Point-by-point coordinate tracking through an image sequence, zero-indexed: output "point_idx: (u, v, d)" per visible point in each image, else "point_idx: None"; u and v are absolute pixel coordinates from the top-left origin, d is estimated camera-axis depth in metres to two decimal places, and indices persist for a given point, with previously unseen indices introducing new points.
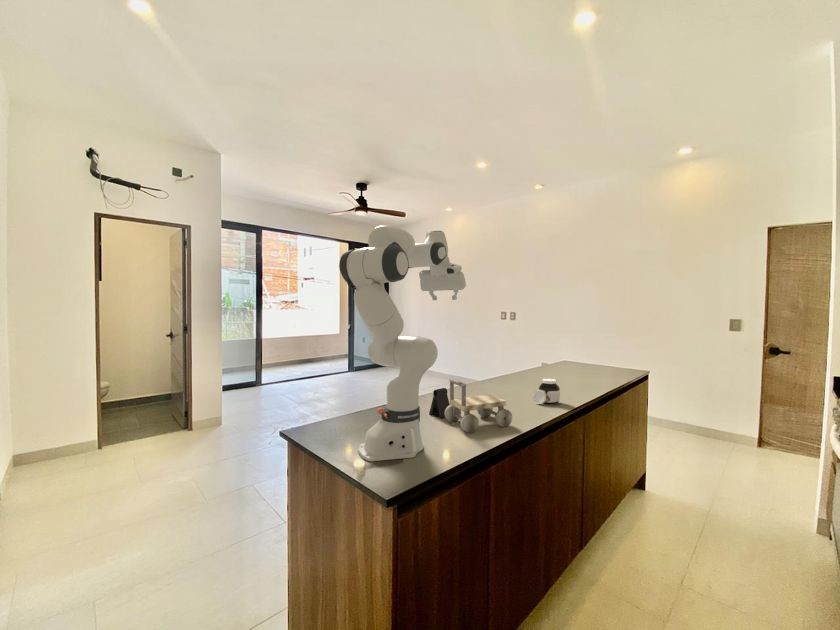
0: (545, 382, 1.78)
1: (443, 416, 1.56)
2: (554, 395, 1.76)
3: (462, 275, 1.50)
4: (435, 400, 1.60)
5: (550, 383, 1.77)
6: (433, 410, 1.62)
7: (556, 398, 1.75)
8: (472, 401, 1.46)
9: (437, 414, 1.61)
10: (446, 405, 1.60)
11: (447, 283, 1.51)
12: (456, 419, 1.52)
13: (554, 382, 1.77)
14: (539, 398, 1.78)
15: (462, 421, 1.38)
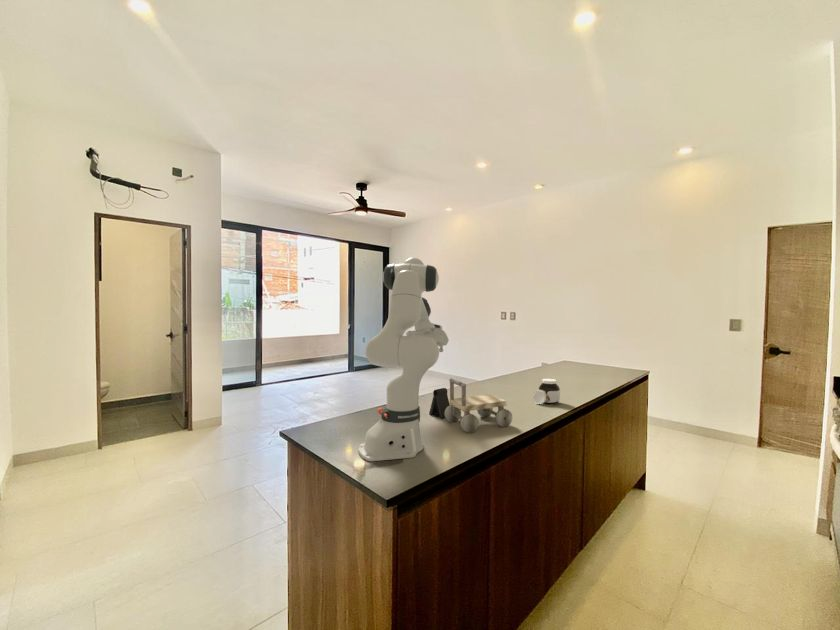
0: (545, 382, 1.78)
1: (443, 416, 1.56)
2: (554, 395, 1.76)
3: None
4: (435, 400, 1.60)
5: (550, 383, 1.77)
6: (433, 410, 1.62)
7: (556, 398, 1.75)
8: (472, 401, 1.46)
9: (437, 414, 1.61)
10: (446, 405, 1.60)
11: (435, 337, 1.77)
12: (456, 419, 1.52)
13: (554, 382, 1.77)
14: (539, 398, 1.78)
15: (462, 421, 1.38)
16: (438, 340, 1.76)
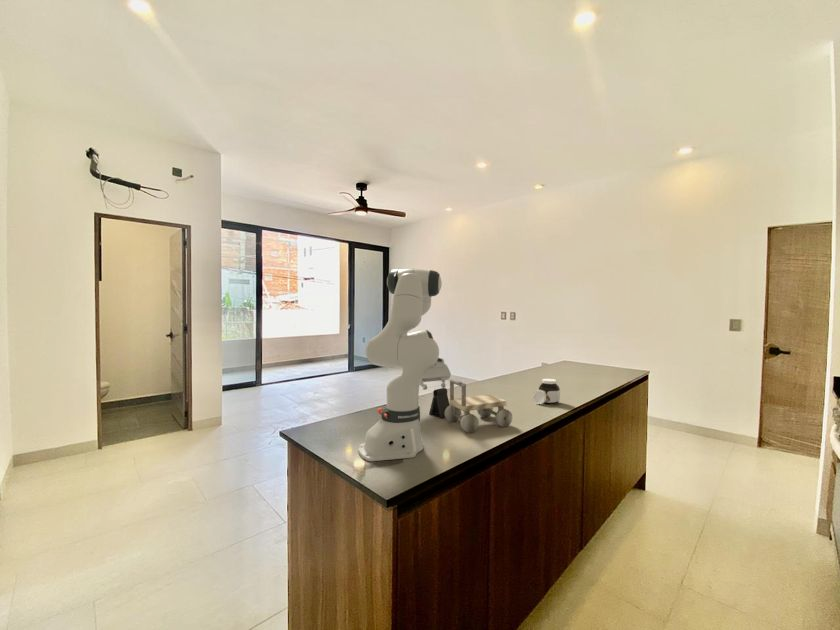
0: (545, 382, 1.78)
1: (443, 416, 1.56)
2: (554, 395, 1.76)
3: None
4: (435, 400, 1.60)
5: (550, 383, 1.77)
6: (433, 410, 1.62)
7: (556, 398, 1.75)
8: (472, 401, 1.46)
9: (437, 414, 1.61)
10: (446, 405, 1.60)
11: (436, 371, 1.71)
12: (456, 419, 1.52)
13: (554, 382, 1.77)
14: (539, 398, 1.78)
15: (462, 421, 1.38)
16: (440, 375, 1.70)
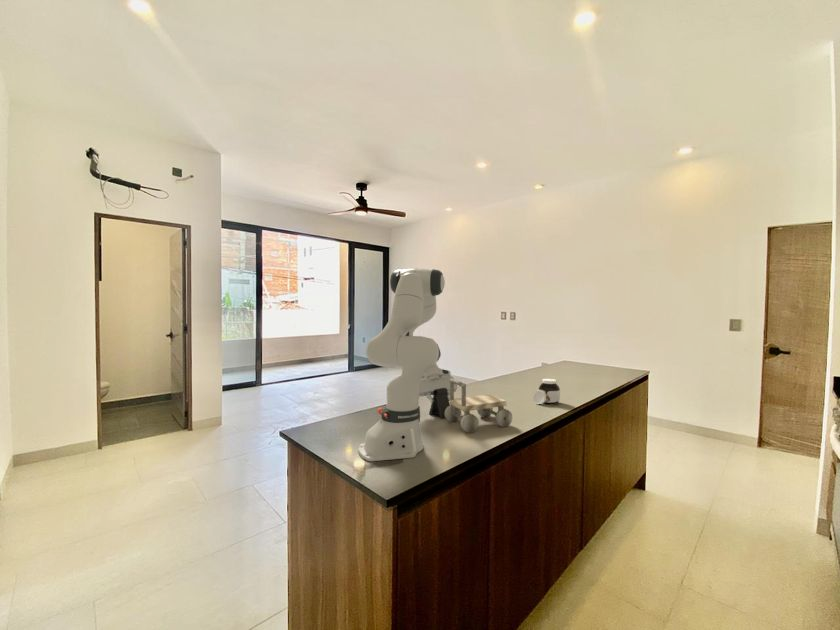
0: (545, 382, 1.78)
1: (443, 416, 1.56)
2: (554, 395, 1.76)
3: None
4: (435, 400, 1.60)
5: (550, 383, 1.77)
6: (433, 410, 1.62)
7: (556, 398, 1.75)
8: (472, 401, 1.46)
9: (437, 414, 1.61)
10: (446, 405, 1.60)
11: (443, 384, 1.65)
12: (456, 419, 1.52)
13: (554, 382, 1.77)
14: (539, 398, 1.78)
15: (462, 421, 1.38)
16: (446, 388, 1.64)
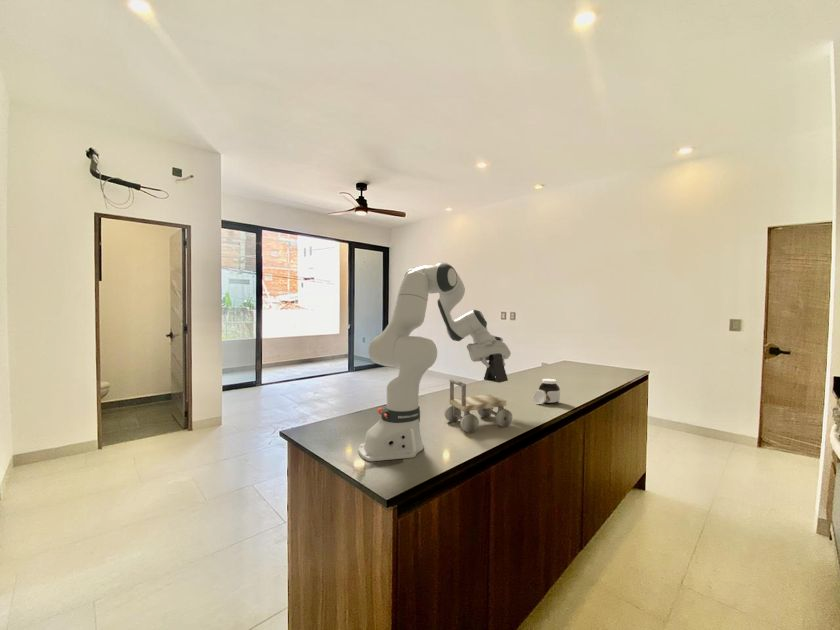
0: (545, 382, 1.78)
1: (500, 380, 1.57)
2: (554, 395, 1.76)
3: None
4: None
5: (550, 383, 1.77)
6: (488, 375, 1.63)
7: (556, 398, 1.75)
8: (472, 401, 1.46)
9: (492, 379, 1.62)
10: (502, 370, 1.60)
11: (496, 350, 1.66)
12: (456, 419, 1.52)
13: (554, 382, 1.77)
14: (539, 398, 1.78)
15: (462, 421, 1.38)
16: None
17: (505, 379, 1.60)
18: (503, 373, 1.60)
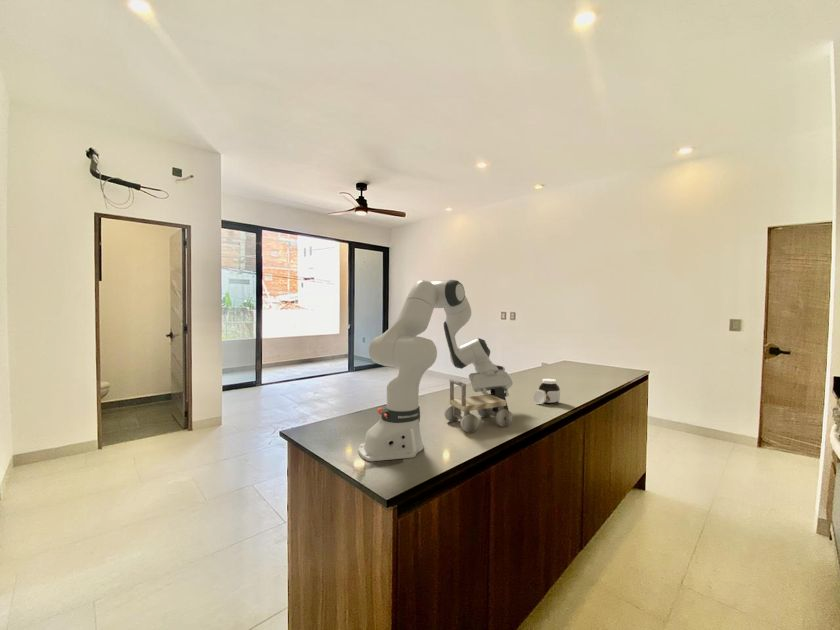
0: (545, 382, 1.78)
1: None
2: (554, 395, 1.76)
3: None
4: None
5: (550, 383, 1.77)
6: None
7: (556, 398, 1.75)
8: (472, 401, 1.46)
9: None
10: None
11: (498, 379, 1.66)
12: (456, 419, 1.52)
13: (554, 382, 1.77)
14: (539, 398, 1.78)
15: (462, 421, 1.38)
16: (502, 383, 1.65)
17: None
18: (505, 407, 1.60)
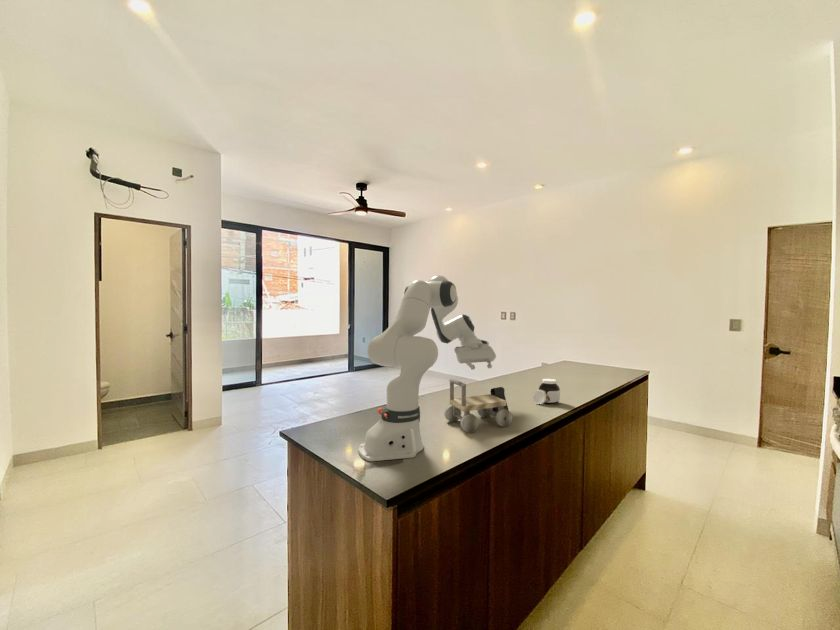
0: (545, 382, 1.78)
1: None
2: (554, 395, 1.76)
3: None
4: None
5: (550, 383, 1.77)
6: None
7: (556, 398, 1.75)
8: (472, 401, 1.46)
9: None
10: None
11: (482, 353, 1.77)
12: (456, 419, 1.52)
13: (554, 382, 1.77)
14: (539, 398, 1.78)
15: (462, 421, 1.38)
16: (486, 356, 1.76)
17: None
18: (505, 407, 1.60)
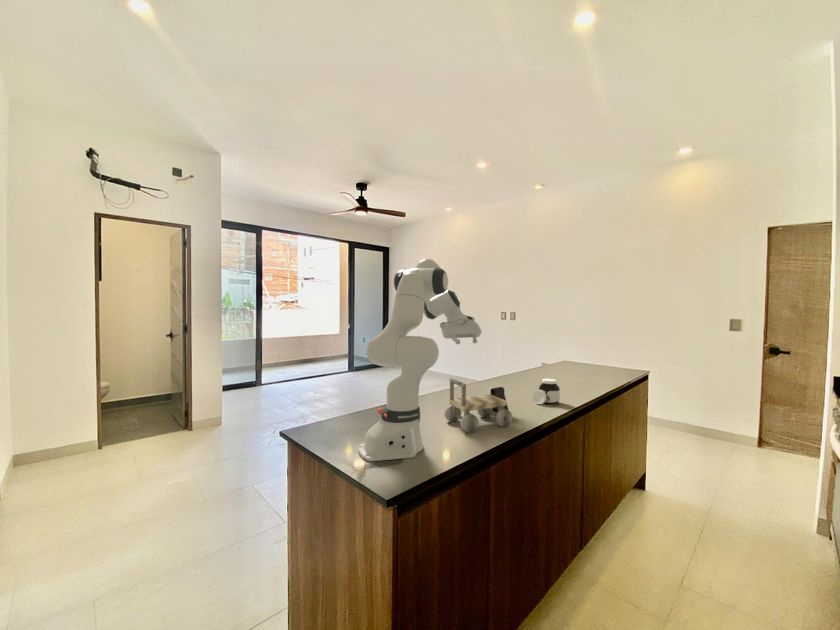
0: (545, 382, 1.78)
1: None
2: (554, 395, 1.76)
3: None
4: None
5: (550, 383, 1.77)
6: None
7: (556, 398, 1.75)
8: (472, 401, 1.46)
9: None
10: None
11: (468, 328, 1.77)
12: (456, 419, 1.52)
13: (554, 382, 1.77)
14: (539, 398, 1.78)
15: (462, 421, 1.38)
16: (471, 331, 1.76)
17: None
18: (505, 407, 1.60)
